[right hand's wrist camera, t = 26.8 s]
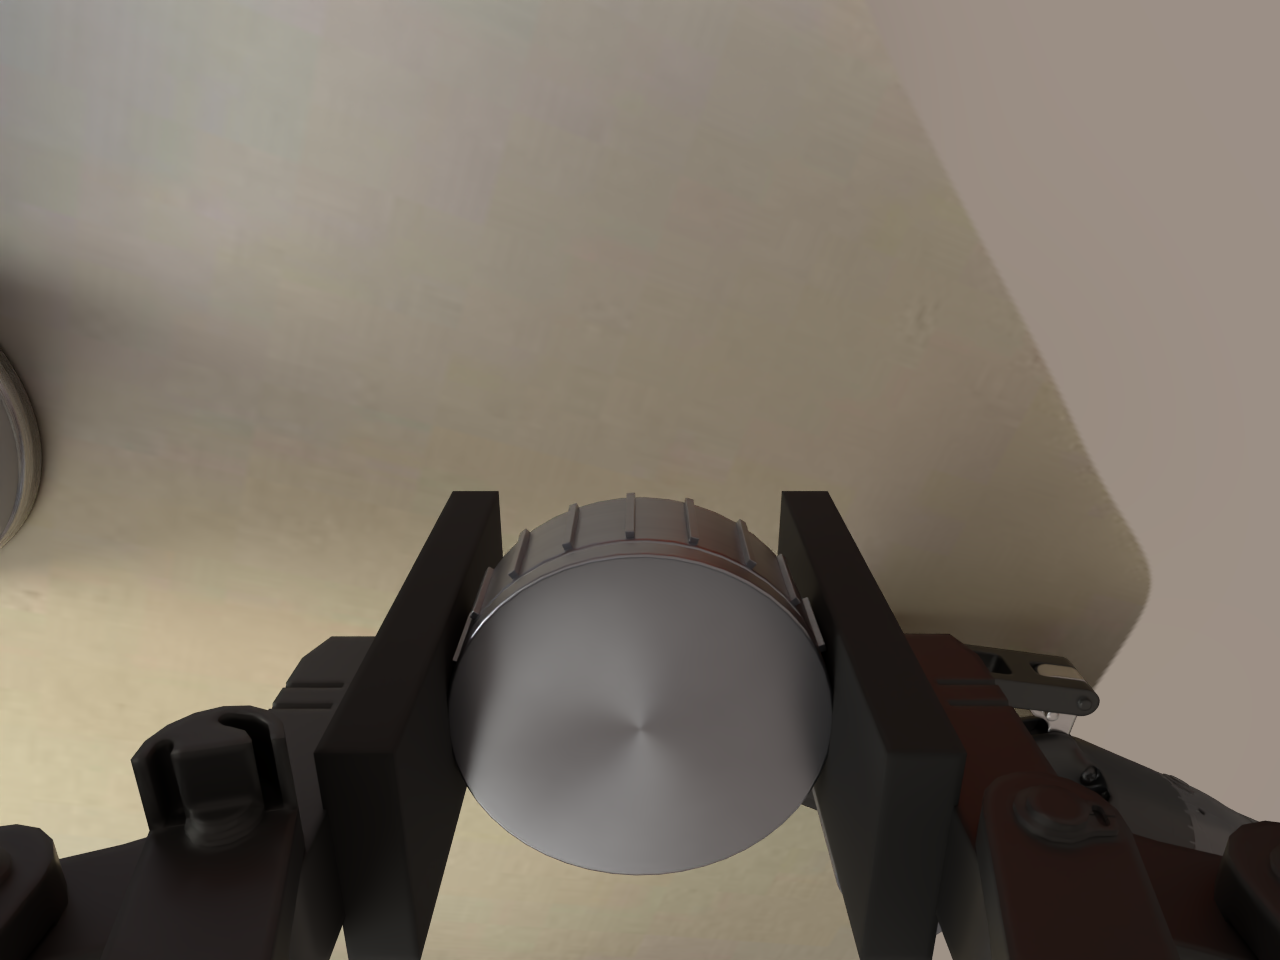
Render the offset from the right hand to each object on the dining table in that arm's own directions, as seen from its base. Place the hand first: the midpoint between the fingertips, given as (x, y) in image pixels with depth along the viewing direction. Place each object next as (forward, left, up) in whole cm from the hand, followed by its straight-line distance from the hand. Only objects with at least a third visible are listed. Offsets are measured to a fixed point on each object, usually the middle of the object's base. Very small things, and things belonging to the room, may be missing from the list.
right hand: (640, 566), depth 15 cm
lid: (0, 0, +4) cm, 4 cm away
